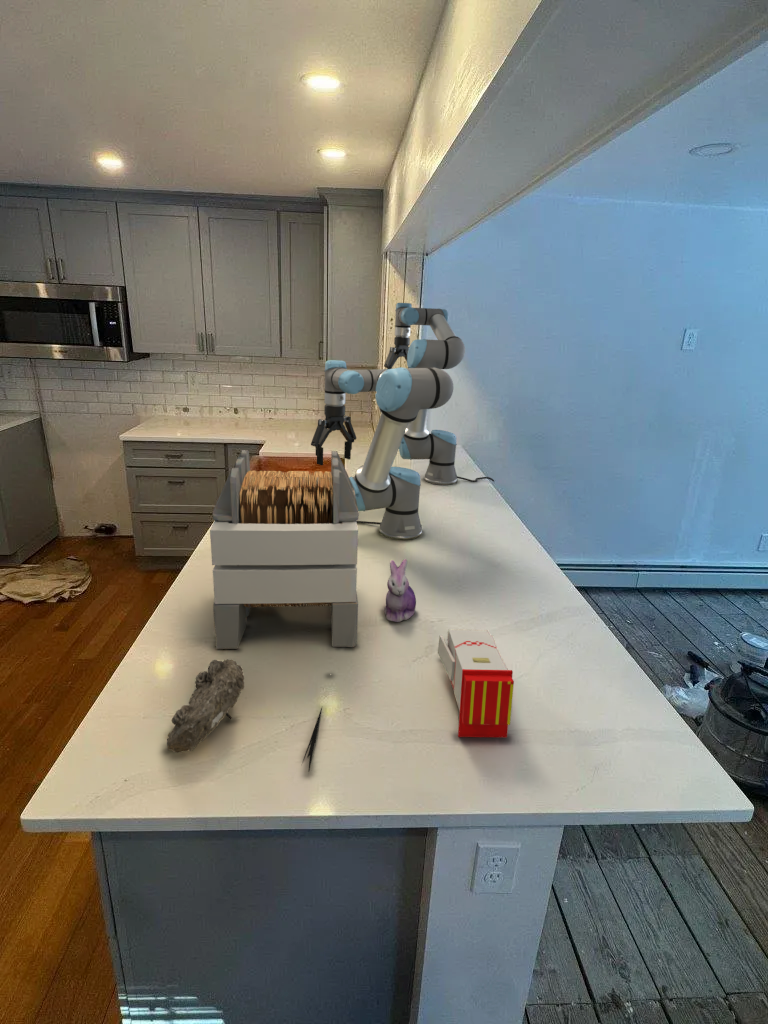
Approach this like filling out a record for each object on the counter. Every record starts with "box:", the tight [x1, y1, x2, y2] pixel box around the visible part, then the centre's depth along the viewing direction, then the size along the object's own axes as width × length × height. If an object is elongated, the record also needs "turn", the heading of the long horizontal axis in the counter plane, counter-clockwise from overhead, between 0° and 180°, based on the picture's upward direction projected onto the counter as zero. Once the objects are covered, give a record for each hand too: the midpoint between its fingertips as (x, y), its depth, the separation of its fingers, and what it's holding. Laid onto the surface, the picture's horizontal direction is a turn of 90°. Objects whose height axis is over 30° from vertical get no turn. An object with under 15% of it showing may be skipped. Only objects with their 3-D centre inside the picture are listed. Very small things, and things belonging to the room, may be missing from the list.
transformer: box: [209, 449, 360, 651], centre depth 139 cm, size 34×33×41 cm
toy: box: [437, 628, 515, 738], centre depth 117 cm, size 12×13×30 cm
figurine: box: [384, 558, 417, 623], centre depth 145 cm, size 9×10×15 cm
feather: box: [301, 673, 332, 771], centre depth 108 cm, size 2×28×2 cm
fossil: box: [166, 658, 245, 754], centre depth 106 cm, size 22×10×15 cm
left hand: (333, 461), depth 212 cm, fingers open, 13 cm apart
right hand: (399, 381), depth 281 cm, fingers open, 13 cm apart
